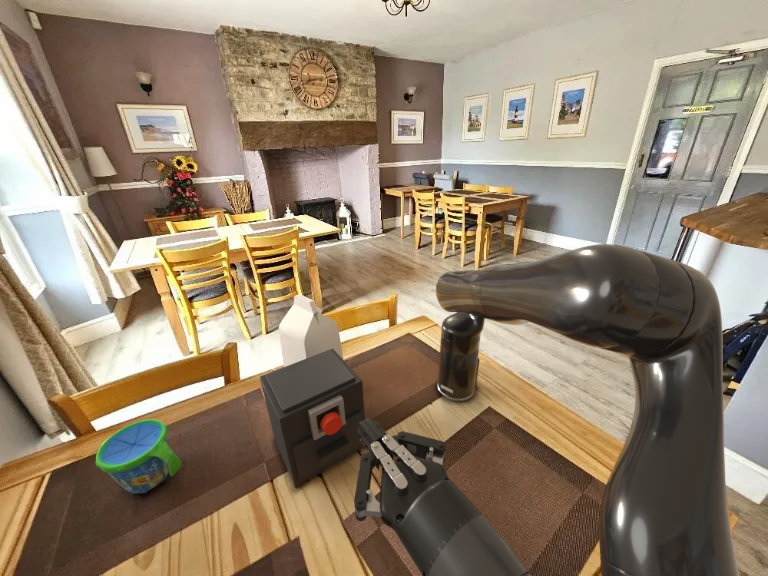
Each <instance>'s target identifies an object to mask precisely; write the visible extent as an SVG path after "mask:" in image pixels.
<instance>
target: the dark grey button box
mask: <svg viewBox="0 0 768 576" xmlns="http://www.w3.org/2000/svg"><path fill="white" fill-rule="evenodd" d="M259 382H260V384H261V385H260V386H261V390H262V393H263V397H264V401H265V406H266V410H267V414H268V416H269V422H270V426H271V430H272V435H273V438H274V441H275V444H276V446H277V449H278V451H279V453H280V456H281V458H282V460H283V463H284V465H285V468H286V470H287V473H288V475H289V478H290V480H291V482H292V484H293V486H294V489H297V488H299V487H300V486H302V485H304V484H305V483H307V482H308V481H310V480H312V479H313V478H315V477H317V476H319V475H320V474H322V473H324V472H325V471H327V470H328V469H330V468H332V467H333V466H335V465H338V464H339V463H340V462H342V461H344V460H345V459H348V458H349V457H350V456H352V455H353V454H355V453H357V452H359V451H361V450H362V449H365V447H364V446H363V444H362V443H361V442H360V440H359V435H358V428H359V423H360V422H362V421H364V420H365V419H366V416H365V415H366V414H365V401H364V399H365V398H364V386H363V380H362V379H361V377H360V376H358V374H357V373H356V372H355V371H354V370H353V369H352V368H351V366H350V365H349V364H348V363H347V362H346V361H345V360H344V358H343V359H342V358H341V357H340V356H339V355H338V353H337V352H336V351H335V350H334V349H333V348H332V349H330V350H327V351H325V352H322V353H319V354H317V355H314V356H312V357H309V358H306V359H304V360H301V361H299V362H296V363H294V364H291V365H288V366H286V367H284V366H282V367H281V368H278V369H275V370H273V371H270V372H267V373H265V374H263V375H260V376H259ZM331 412H336V413H338V415H339V416H340V418H341V419H342V422H343V423H342V426H341V428H340V429H339V430H338V431H337V432H336V433H334V434H332V435H327V434H325V433H324V431H323V429H322V428H321V420H322V419H323V417H324V416H325V415H327V414H328V413H331Z"/></svg>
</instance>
